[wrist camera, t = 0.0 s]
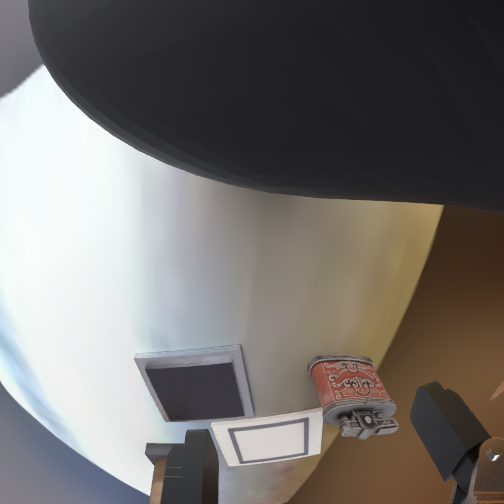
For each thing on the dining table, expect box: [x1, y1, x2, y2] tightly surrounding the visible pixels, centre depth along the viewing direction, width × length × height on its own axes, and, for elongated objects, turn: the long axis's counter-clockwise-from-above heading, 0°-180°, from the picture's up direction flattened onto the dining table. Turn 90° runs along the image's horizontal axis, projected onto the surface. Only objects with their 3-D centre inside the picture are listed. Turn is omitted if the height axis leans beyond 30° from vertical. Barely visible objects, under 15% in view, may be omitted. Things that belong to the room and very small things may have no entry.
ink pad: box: [134, 344, 254, 422], centre depth 30 cm, size 11×11×1 cm
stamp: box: [145, 443, 174, 504], centre depth 31 cm, size 6×6×11 cm
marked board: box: [211, 407, 323, 466], centre depth 35 cm, size 12×14×1 cm
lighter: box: [308, 354, 398, 440], centre depth 26 cm, size 8×3×10 cm, turn 76°
